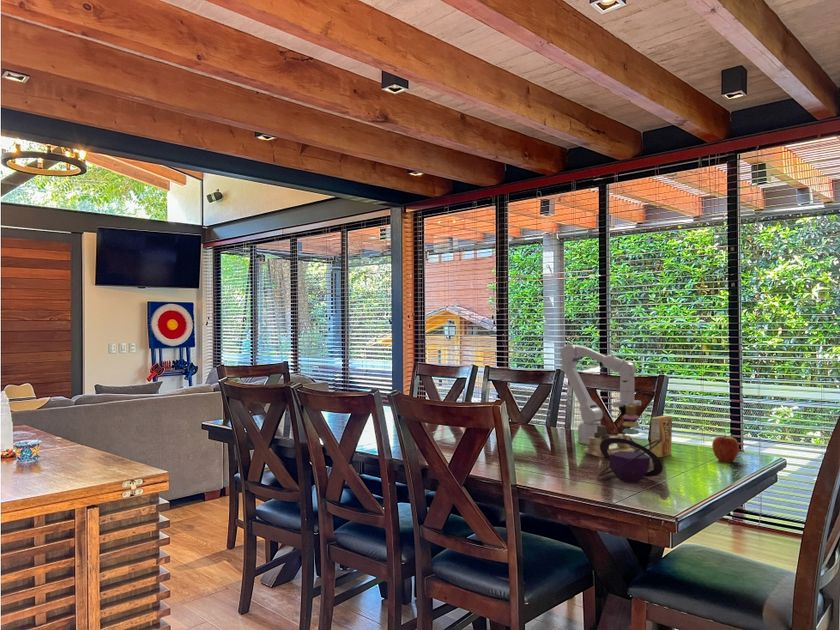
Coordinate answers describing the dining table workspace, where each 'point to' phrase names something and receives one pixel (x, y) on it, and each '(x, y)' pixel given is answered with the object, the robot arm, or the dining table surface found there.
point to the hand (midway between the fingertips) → (627, 423)
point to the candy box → (661, 435)
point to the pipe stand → (595, 446)
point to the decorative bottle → (630, 455)
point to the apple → (725, 448)
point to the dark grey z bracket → (601, 433)
